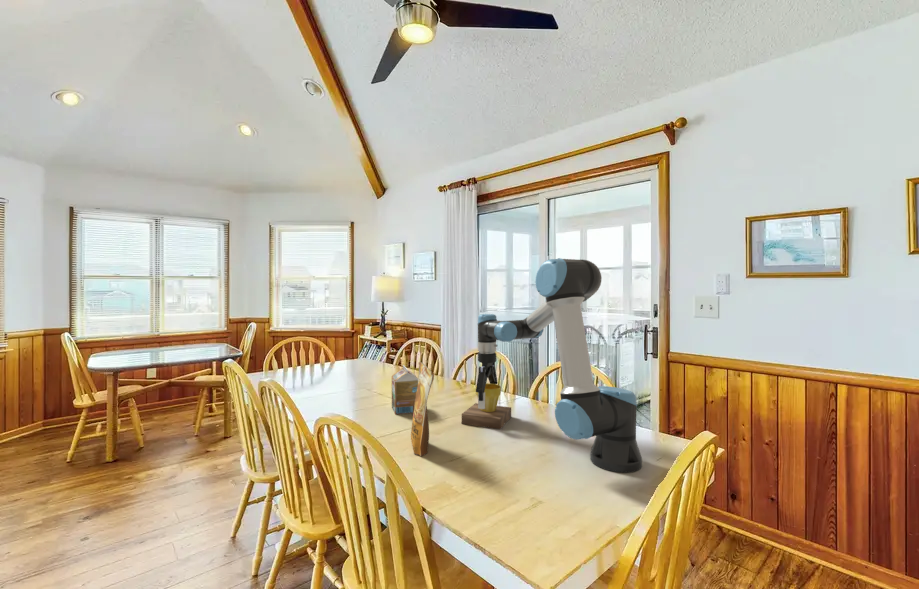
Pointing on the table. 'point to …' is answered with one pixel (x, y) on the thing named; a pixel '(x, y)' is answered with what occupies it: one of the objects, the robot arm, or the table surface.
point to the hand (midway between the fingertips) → (487, 404)
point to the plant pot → (491, 397)
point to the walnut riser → (486, 417)
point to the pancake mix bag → (421, 412)
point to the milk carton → (404, 391)
